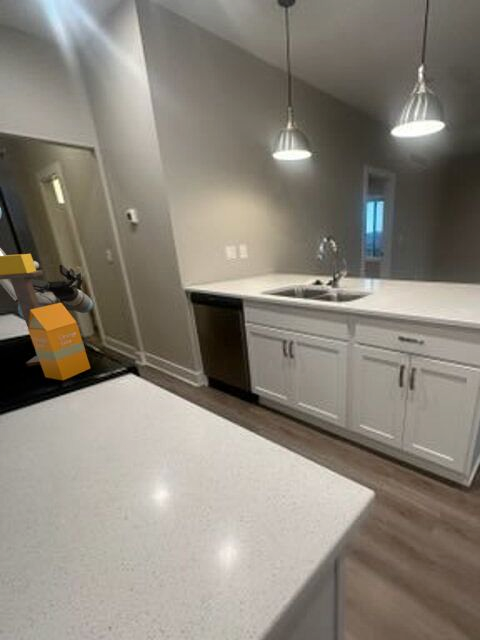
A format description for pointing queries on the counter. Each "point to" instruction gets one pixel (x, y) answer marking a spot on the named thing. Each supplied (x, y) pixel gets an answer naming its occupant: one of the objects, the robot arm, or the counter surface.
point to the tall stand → (25, 298)
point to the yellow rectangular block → (17, 264)
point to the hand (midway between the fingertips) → (37, 270)
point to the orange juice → (57, 342)
